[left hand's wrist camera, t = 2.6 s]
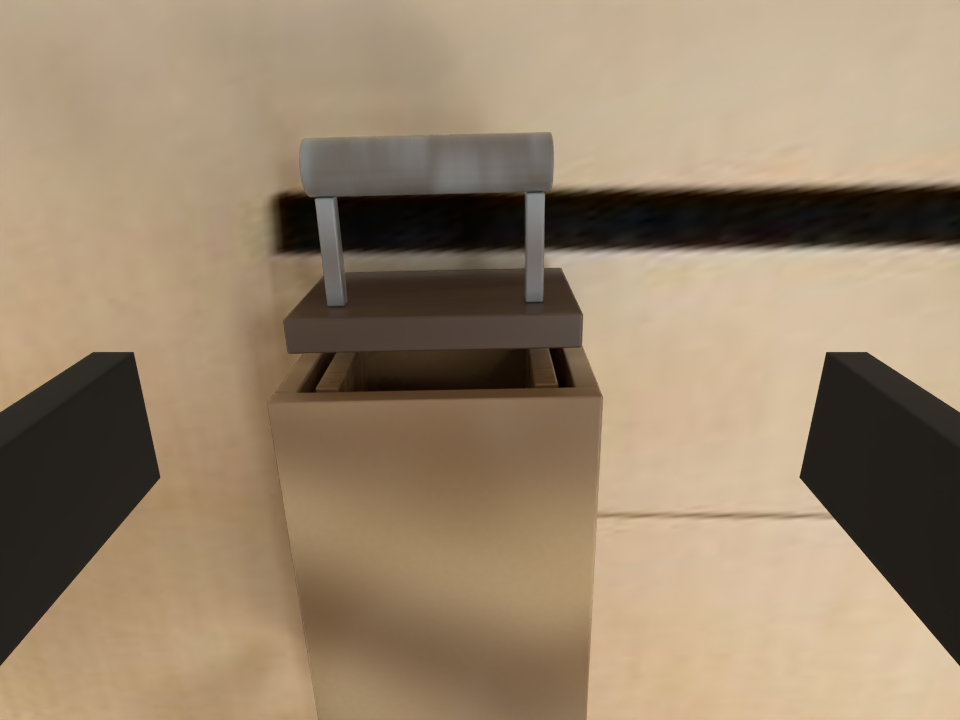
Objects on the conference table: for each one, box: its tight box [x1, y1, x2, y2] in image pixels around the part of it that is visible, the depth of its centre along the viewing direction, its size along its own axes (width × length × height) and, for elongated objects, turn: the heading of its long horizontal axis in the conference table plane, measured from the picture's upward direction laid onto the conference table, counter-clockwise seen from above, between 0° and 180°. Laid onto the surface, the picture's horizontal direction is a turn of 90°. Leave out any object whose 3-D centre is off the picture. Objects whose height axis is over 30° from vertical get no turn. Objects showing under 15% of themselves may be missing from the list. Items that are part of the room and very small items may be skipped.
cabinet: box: [267, 346, 603, 720], centre depth 28 cm, size 20×11×8 cm, turn 1°
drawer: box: [283, 132, 583, 393], centre depth 26 cm, size 25×10×6 cm, turn 1°
